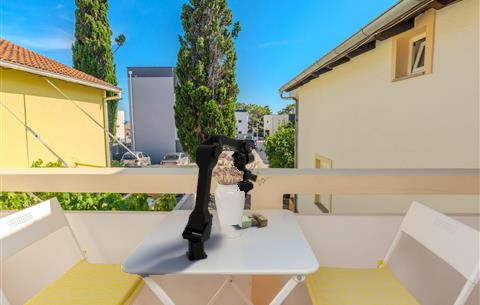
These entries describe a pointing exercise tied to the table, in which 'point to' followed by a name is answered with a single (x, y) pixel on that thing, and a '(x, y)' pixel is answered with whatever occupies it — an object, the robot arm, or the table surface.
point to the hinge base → (258, 219)
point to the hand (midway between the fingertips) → (238, 200)
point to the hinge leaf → (246, 222)
